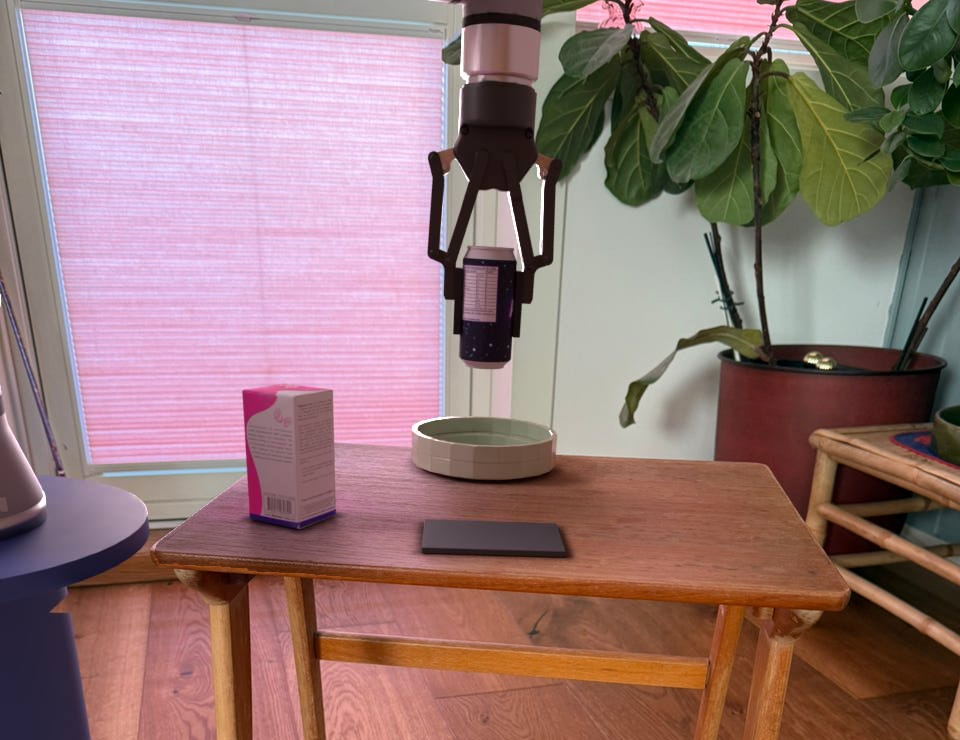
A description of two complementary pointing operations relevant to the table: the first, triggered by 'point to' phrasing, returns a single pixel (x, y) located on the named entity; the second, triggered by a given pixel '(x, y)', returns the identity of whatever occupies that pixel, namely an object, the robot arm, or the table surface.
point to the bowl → (483, 447)
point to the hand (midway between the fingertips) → (486, 334)
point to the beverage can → (487, 306)
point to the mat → (492, 538)
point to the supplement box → (290, 454)
